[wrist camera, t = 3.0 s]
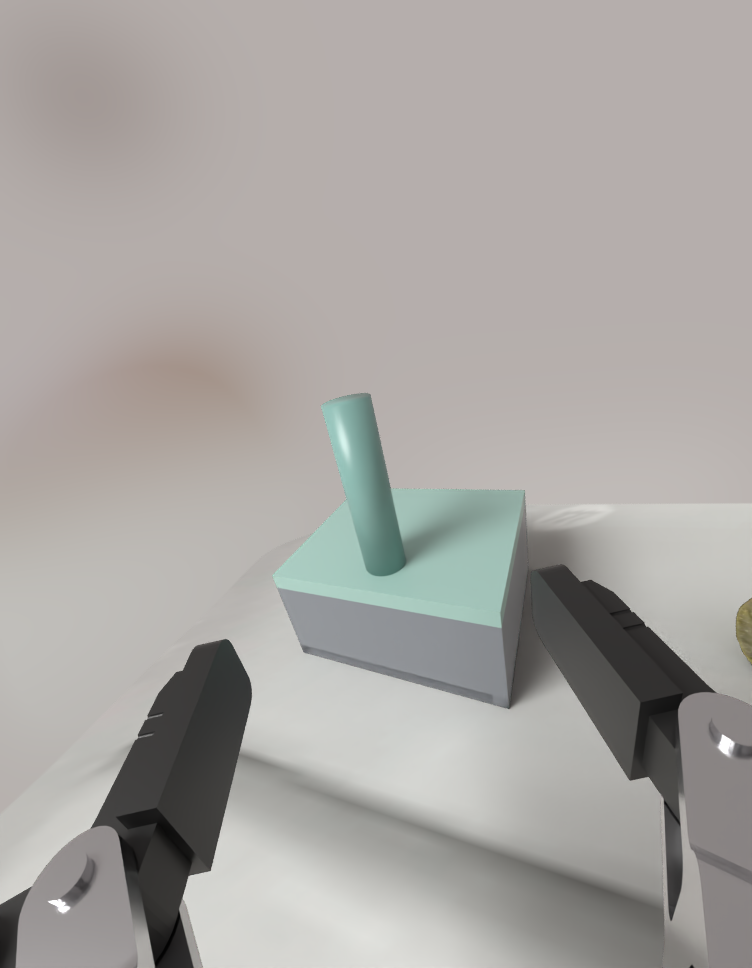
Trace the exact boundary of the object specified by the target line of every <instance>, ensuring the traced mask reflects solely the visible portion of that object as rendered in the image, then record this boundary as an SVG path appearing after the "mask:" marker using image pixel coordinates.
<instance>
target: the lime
mask: <svg viewBox="0 0 752 968" xmlns="http://www.w3.org/2000/svg"><path fill="white" fill-rule="evenodd" d="M736 637H737V640H738V642H739V644H740V646H741V649H742V651H743V653H744V655H745V656H746V657H747V659H748V661H750V662H751V664H752V598H751V599H749V600H748V601H747V602H746V603H744V604H743V605H742V606H741V607H740V608H739V611H738V613H737V617H736Z"/></svg>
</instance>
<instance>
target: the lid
mask: <svg viewBox="0 0 752 968" xmlns="http://www.w3.org/2000/svg"><path fill="white" fill-rule="evenodd" d="M321 408H322V411H323V415H324V419H325V422H326V426H327V429H328V433H329V437H330V440H331V444H332V448H333V451H334V455H335V459H336V462H337V466H338V469H339V473H340V477H341V480H342V484H343V488H344V491H345V495H346V498H347V499H346V500H345V501H344V502H343V503H342V505H340V507H339V508H338V509H337V510H336V511H335V512H334V513H333V514H332V515H331V516H330V517H329V518H328V519H327V520H326V521H325V522H324V523H323V524H322V525H321V526H320V527H319V528H318V529H317V530H316V531H315V532H314V533H313V534H312V535H311V536H310V537H309V538H308V539H307V540H306V541H305V542H304V543H303V544H302V545H301V546H300V548H299V549H298V550H297V551H296V552H295V553H294V554H293V555H292V556H291V557H290V558H289V559H288V560H287V561H286V562H285V563H284V564H283V565H282V566H281V567H280V568H279V569H278V570H277V571H276V572H275V573H274V574H273V575H272V576H273V579H274V581H275V584H276V586H277V588H282V589H287V590H293V591H299V592H304V593H310V594H315V595H321V596H326V597H332V598H337V599H343V600H348V601H354V602H359V603H365V604H371V605H376V606H382V607H387V608H393V609H398V610H404V611H409V612H415V613H420V614H426V615H431V616H437V617H443V618H448V619H454V620H459V621H465V622H470V623H476V624H481V625H487V626H492V627H498V628H502V624H503V618H504V613H505V608H506V602H507V597H508V592H509V587H510V581H511V576H512V571H513V565H514V560H515V555H516V549H517V544H518V539H519V533H520V528H521V523H522V518H523V512H524V507H525V490H461V489H460V490H459V489H391V487H390V483H389V478H388V473H387V469H386V464H385V460H384V455H383V450H382V446H381V441H380V437H379V432H378V427H377V423H376V418H375V414H374V409H373V404H372V400H371V395H370V394H368V393H361V394H353V395H347V396H343V397H339V398H336V399H333V400H330V401H328V402H326V403H324V404H323V405H322V406H321Z"/></svg>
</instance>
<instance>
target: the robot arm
mask: <svg viewBox="0 0 752 968" xmlns="http://www.w3.org/2000/svg"><path fill="white" fill-rule="evenodd" d="M531 596H532V616H533V621H534V624H535V627H536V630H537V633H538V635H539V637H540V639H541V640H542V642H543V644H544V645H545V647H546V648H547V650H548V652H549V653H550V655H551V656H552V658H553V660H554V661H555V663H556V664H557V666H558V667H559V669H560V671H561V672H562V674H563V675H564V677H565V679H566V680H567V682H568V683H569V685H570V687H571V688H572V690H573V691H574V693H575V694H576V696H577V698H578V699H579V701H580V702H581V704H582V706H583V707H584V709H585V710H586V712H587V714H588V715H589V717H590V718H591V720H592V721H593V723H594V725H595V726H596V728H597V729H598V731H599V733H600V734H601V736H602V737H603V739H604V741H605V742H606V744H607V745H608V747H609V748H610V750H611V752H612V753H613V755H614V756H615V758H616V760H617V761H618V763H619V764H620V766H621V768H622V769H623V771H624V772H625V774H626V775H627V777H628V779H629V780H630V781H631V780H635V779H640V778H644V777H649V778H650V779H651V781H652V782H653V784H654V785H655V787H656V788H657V790H658V791H659V792H660V794H661V799H660V809H661V837H662V865H663V893H664V946H663V964H662V968H752V706H751V705H749V704H747V703H745V702H743V701H741V700H738V699H736V698H733V697H730V696H727V695H723V694H718V693H716V692H715V691H714V690H712V689H711V688H710V687H709V686H708V685H707V684H706V683H705V682H704V681H703V680H702V679H701V678H700V677H699V676H698V675H697V674H696V673H695V672H694V671H693V670H692V669H691V668H690V667H689V666H688V665H687V664H686V663H685V662H684V661H682V660H681V659H680V658H679V657H678V656H677V655H676V654H675V653H674V652H673V651H672V650H671V649H670V648H669V647H668V646H667V645H666V644H665V643H664V642H663V641H662V640H661V639H660V638H659V637H658V636H657V635H656V634H655V633H654V632H653V631H652V630H651V629H650V628H649V627H646V626H645V624H644V622H643V621H642V620H641V619H640V618H639V617H638V616H637V615H636V614H635V613H634V612H631V611H630V608H629V607H628V606H627V605H626V604H625V603H624V602H623V601H622V600H621V599H620V598H619V597H618V596H617V595H616V594H615V593H614V592H612V591H610V590H609V589H607V588H605V587H603V586H601V585H599V584H598V583H596V582H594V581H592V580H588V581H583V582H580V581H579V580H578V579H577V578H576V577H575V576H574V575H573V573H572V572H571V571H570V570H569V569H568V568H567V567H566V566H564V565H562V564H560V565H556V566H551V567H547V568H542V569H538V570H534V571H532V572H531ZM251 699H252V689H251V683H250V679H249V677H248V675H247V673H246V671H245V669H244V667H243V665H242V663H241V661H240V659H239V657H238V655H237V653H236V651H235V649H234V647H233V645H232V644H231V642H230V641H229V640H227V639H224V640H220V641H215V642H211V643H206V644H202V645H198V646H196V647H195V648H194V649H193V650H192V652H191V654H190V656H189V658H188V660H187V663H186V665H185V667H184V669H183V671H179V672H176V673H175V674H174V675H173V677H172V678H171V679H170V680H169V681H168V683H167V684H166V685H165V686H164V687H163V689H162V690H161V691H160V692H159V694H158V696H157V698H156V700H155V702H154V704H153V706H152V708H151V710H150V712H149V714H148V719H147V720H145V722H144V724H143V726H142V728H141V730H140V732H139V734H138V739H137V740H135V742H134V744H133V746H132V748H131V750H130V752H129V754H128V756H127V758H126V760H125V762H124V764H123V766H122V768H121V770H120V772H119V774H118V776H117V778H116V780H115V782H114V784H113V786H112V788H111V790H110V792H109V794H108V796H107V798H106V800H105V802H104V804H103V806H102V808H101V810H100V812H99V814H98V816H97V818H96V820H95V822H94V823H93V825H92V827H91V829H89V830H87V831H85V832H83V833H82V834H80V835H78V836H77V837H76V838H74V839H73V840H71V841H70V842H69V843H68V844H67V845H66V846H64V847H63V848H62V849H61V850H60V851H59V852H58V853H57V854H56V855H55V856H54V857H53V858H52V860H51V861H50V862H49V863H48V864H47V865H46V867H45V868H44V869H43V871H42V872H41V873H40V875H39V876H38V878H37V879H36V881H35V883H34V884H33V886H32V887H30V888H28V889H27V890H25V891H23V892H22V893H20V894H18V895H16V896H15V897H13V898H11V899H9V900H8V901H6V902H4V903H3V904H1V905H0V968H203V966H202V962H201V959H200V955H199V951H198V947H197V944H196V940H195V936H194V933H193V929H192V925H191V922H190V918H189V914H188V910H187V907H186V904H185V902H184V900H183V899H182V897H183V894H184V890H185V887H186V883H187V879H188V876H190V875H194V874H199V873H203V872H208V871H211V867H212V863H213V859H214V855H215V850H216V846H217V842H218V838H219V834H220V830H221V826H222V821H223V817H224V813H225V809H226V805H227V801H228V797H229V792H230V788H231V784H232V780H233V776H234V772H235V768H236V763H237V759H238V755H239V751H240V747H241V743H242V739H243V734H244V730H245V726H246V722H247V718H248V714H249V709H250V705H251Z"/></svg>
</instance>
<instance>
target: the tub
mask: <svg viewBox="0 0 752 968" xmlns="http://www.w3.org/2000/svg"><path fill="white" fill-rule="evenodd" d="M527 575H528V547H527V526H526V505H525V507H524V512H523V518H522V523H521V528H520V533H519V539H518V544H517V549H516V555H515V560H514V565H513V571H512V576H511V581H510V587H509V592H508V597H507V602H506V608H505V613H504V618H503V624H502V628H498V627H492V626H487V625H481V624H476V623H470V622H465V621H459V620H454V619H448V618H443V617H437V616H431V615H426V614H420V613H415V612H409V611H404V610H398V609H393V608H387V607H382V606H376V605H371V604H365V603H359V602H354V601H348V600H343V599H337V598H332V597H326V596H321V595H315V594H310V593H304V592H299V591H293V590H287V589H282V588H277V589H278V591H279V593H280V596H281V598H282V601H283V603H284V606H285V608H286V610H287V613H288V615H289V618H290V620H291V623H292V625H293V627H294V630H295V632H296V635H297V637H298V640H299V642H300V644H301V647H302V649H303V652H305V653H308V654H312V655H316V656H319V657H323V658H327V659H330V660H334V661H337V662H341V663H345V664H348V665H352V666H356V667H359V668H363V669H366V670H370V671H374V672H377V673H381V674H384V675H388V676H392V677H395V678H399V679H403V680H406V681H410V682H413V683H417V684H421V685H424V686H428V687H432V688H435V689H439V690H442V691H446V692H450V693H453V694H457V695H461V696H464V697H468V698H471V699H475V700H479V701H482V702H486V703H490V704H493V705H497V706H500V707H504V708H508V709H509V706H510V699H511V692H512V684H513V677H514V670H515V662H516V655H517V648H518V640H519V633H520V626H521V618H522V611H523V604H524V597H525V589H526V582H527Z"/></svg>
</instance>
